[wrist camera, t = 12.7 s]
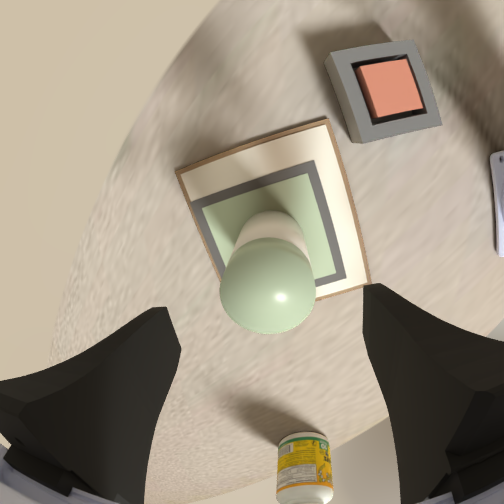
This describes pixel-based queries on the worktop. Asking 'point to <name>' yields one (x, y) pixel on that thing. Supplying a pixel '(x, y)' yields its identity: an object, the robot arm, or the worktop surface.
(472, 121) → the worktop surface
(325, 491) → the supplement bottle
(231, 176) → the picture board
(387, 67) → the button
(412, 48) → the button housing
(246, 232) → the green and cream cylinder
